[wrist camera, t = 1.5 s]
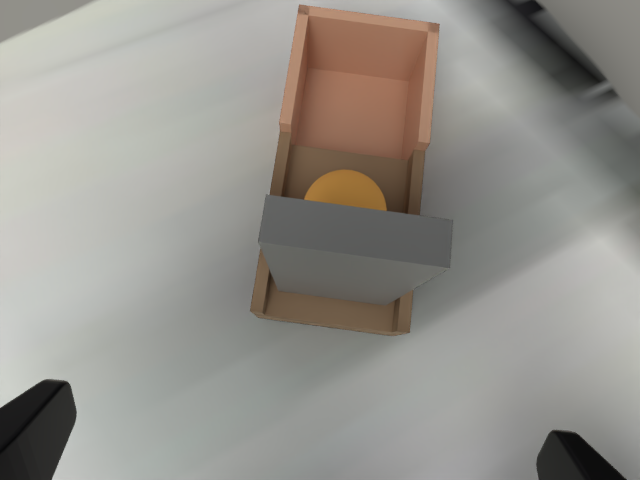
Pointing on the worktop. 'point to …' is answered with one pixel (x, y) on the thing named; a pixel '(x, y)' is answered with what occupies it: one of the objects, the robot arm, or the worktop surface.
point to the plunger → (351, 249)
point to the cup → (360, 83)
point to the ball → (347, 190)
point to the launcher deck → (293, 182)
